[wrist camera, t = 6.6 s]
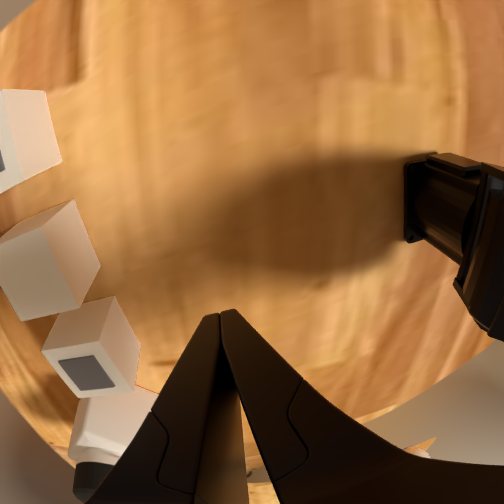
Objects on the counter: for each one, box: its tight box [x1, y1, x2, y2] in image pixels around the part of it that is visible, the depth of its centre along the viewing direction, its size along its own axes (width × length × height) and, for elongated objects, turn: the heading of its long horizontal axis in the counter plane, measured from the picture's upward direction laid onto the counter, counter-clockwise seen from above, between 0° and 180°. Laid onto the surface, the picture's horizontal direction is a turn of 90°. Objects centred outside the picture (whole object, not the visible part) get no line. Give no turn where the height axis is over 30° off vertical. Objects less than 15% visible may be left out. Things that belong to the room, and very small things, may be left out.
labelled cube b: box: [0, 89, 62, 193], centre depth 12 cm, size 5×5×5 cm
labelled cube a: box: [41, 295, 141, 398], centre depth 19 cm, size 5×5×5 cm
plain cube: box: [0, 199, 101, 322], centre depth 16 cm, size 5×5×5 cm
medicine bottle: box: [68, 385, 159, 503], centre depth 20 cm, size 7×7×12 cm
